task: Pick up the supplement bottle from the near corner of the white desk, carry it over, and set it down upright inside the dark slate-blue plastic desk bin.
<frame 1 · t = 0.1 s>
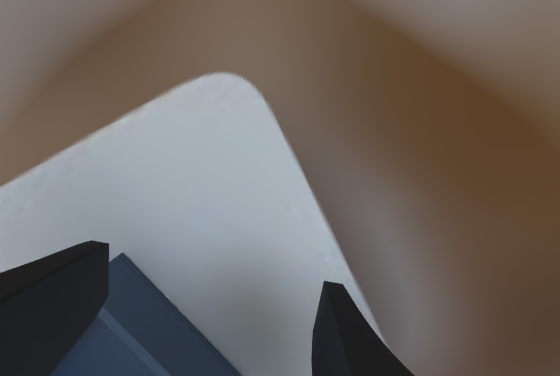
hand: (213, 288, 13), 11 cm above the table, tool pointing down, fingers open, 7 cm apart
desk bin: (129, 369, 26), on the table
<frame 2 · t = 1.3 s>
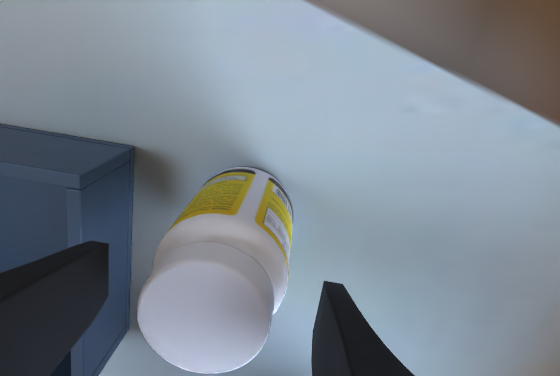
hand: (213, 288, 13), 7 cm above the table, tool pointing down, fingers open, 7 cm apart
supplement bottle: (246, 209, 20), on the table
desk bin: (22, 226, 21), on the table
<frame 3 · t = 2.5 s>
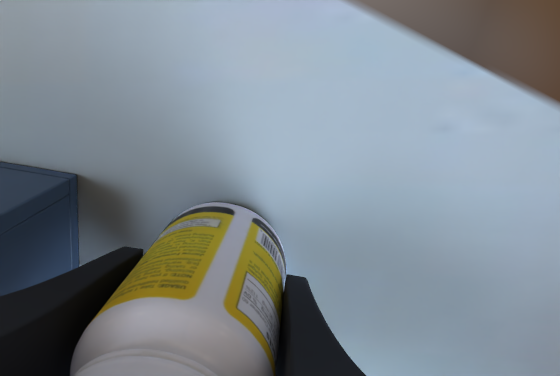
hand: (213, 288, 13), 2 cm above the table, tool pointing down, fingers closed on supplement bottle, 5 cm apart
supplement bottle: (225, 255, 15), on the table, touching gripper
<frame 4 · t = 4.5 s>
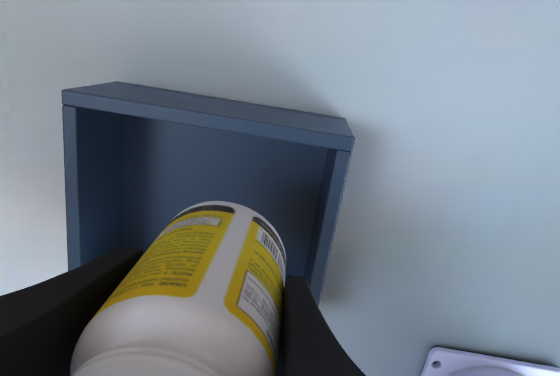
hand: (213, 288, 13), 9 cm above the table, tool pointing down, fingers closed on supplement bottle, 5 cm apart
supplement bottle: (225, 254, 15), point 7 cm above the table, touching gripper
desk bin: (219, 197, 22), on the table
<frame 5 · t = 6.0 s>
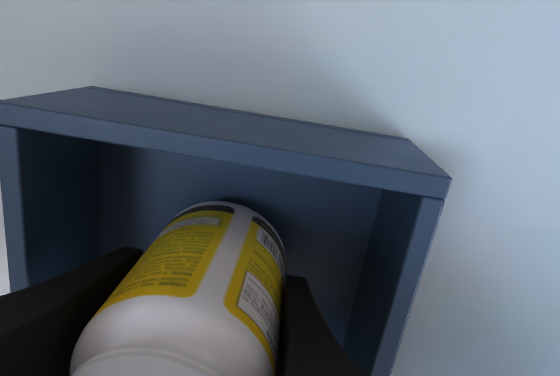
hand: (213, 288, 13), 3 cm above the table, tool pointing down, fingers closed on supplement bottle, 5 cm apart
supplement bottle: (225, 254, 15), point 1 cm above the table, touching gripper
desk bin: (231, 242, 16), on the table
when the fingers open (2 cm above the table, at t = 6.8 s): supplement bottle stays where it is, resting on desk bin.
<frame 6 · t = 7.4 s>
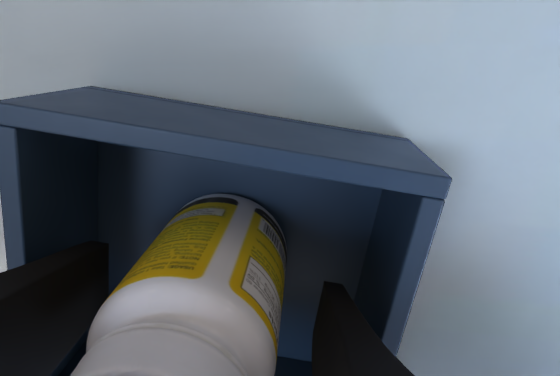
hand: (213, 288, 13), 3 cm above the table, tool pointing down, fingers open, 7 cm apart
supplement bottle: (229, 245, 16), resting on desk bin
desk bin: (231, 243, 16), on the table
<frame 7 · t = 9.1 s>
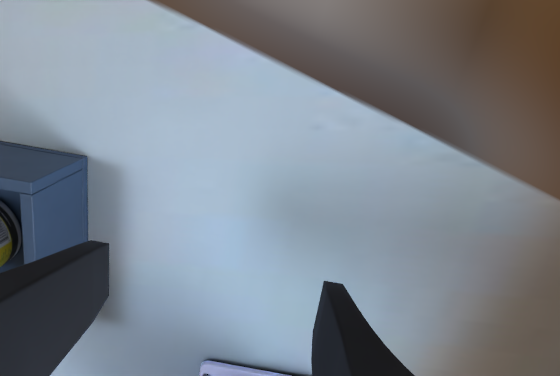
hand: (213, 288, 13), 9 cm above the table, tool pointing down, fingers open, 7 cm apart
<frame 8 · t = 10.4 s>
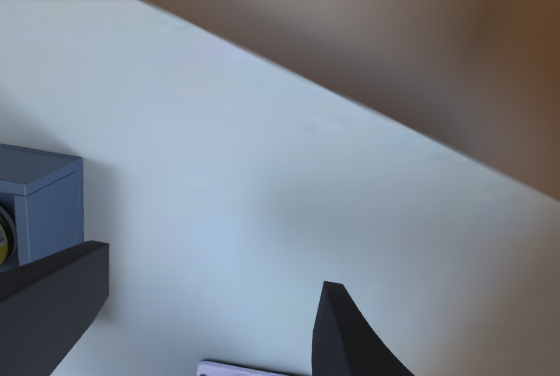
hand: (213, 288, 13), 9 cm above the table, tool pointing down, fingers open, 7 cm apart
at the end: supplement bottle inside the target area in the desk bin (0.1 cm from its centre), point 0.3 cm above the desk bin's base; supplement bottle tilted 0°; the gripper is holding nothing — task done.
